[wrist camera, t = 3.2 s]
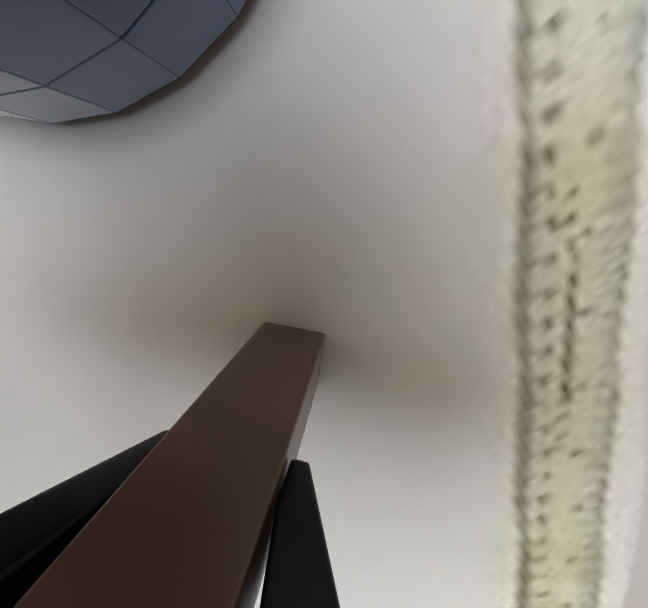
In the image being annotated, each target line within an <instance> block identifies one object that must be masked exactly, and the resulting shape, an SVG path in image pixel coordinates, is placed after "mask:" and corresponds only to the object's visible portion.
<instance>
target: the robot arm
mask: <svg viewBox="0 0 648 608" xmlns="http://www.w3.org/2000/svg"><path fill="white" fill-rule="evenodd" d="M168 431H169V430H166V431H163V432H161V433H159V434H157V435H155V436H153V437H151V438H149V439H147V440H145V441H143V442H141V443H139V444H137V445H135V446H133V447H131V448H129V449H127V450H125V451H123V452H121V453H119V454H117V455H115V456H113V457H111V458H109V459H107V460H105V461H103V462H101V463H99V464H97V465H95V466H93V467H91V468H89V469H88V470H86V471H84V472H82V473H80V474H78V475H76V476H74V477H72V478H70V479H68V480H66V481H64V482H62V483H60V484H58V485H56V486H54V487H52V488H50V489H48V490H46V491H44V492H42V493H40V494H38V495H36V496H34V497H32V498H30V499H28V500H26V501H24V502H22V503H20V504H18V505H16V506H14V507H12V508H10V509H8V510H7V511H5V512H3V513H1V514H0V608H13V607H14V606H15V605H16V603H17V602H18V601H19V600H20V599H21V598H22V597H23V596H24V594H25V593H26V592H27V591H28V590H29V589H30V588H31V586H32V585H33V584H34V583H35V582H36V581H37V580H38V579H39V577H40V576H41V575H42V574H43V573H44V572H45V571H46V569H47V568H48V567H49V566H50V565H51V564H52V563H53V561H54V560H55V559H56V558H57V557H58V556H59V555H60V554H61V552H62V551H63V550H64V549H65V548H66V547H67V546H68V544H69V543H70V542H71V541H72V540H73V539H74V538H75V537H76V535H77V534H78V533H79V532H80V531H81V530H82V529H83V527H84V526H85V525H86V524H87V523H88V522H89V521H90V520H91V518H92V517H93V516H94V515H95V514H96V513H97V512H98V510H99V509H100V508H101V507H102V506H103V505H104V504H105V503H106V501H107V500H108V499H109V498H110V497H111V496H112V495H113V493H114V492H115V491H116V490H117V489H118V488H119V487H120V486H121V484H122V483H123V482H124V481H125V480H126V479H127V478H128V476H129V475H130V474H131V473H132V472H133V471H134V470H135V469H136V467H137V466H138V465H139V464H140V463H141V462H142V461H143V459H144V458H145V457H146V456H147V455H148V454H149V453H150V452H151V450H152V449H153V448H154V447H155V446H156V445H157V444H158V442H159V441H160V440H161V439H162V438H163V437H164V436H165V435H166V433H167V432H168ZM260 608H340V605H339V601H338V596H337V591H336V587H335V582H334V577H333V573H332V568H331V563H330V559H329V554H328V549H327V545H326V540H325V535H324V531H323V526H322V521H321V517H320V512H319V507H318V503H317V498H316V493H315V489H314V484H313V479H312V474H311V470H310V465H309V463H308V462H305V461H300V460H296V459H293V460H291V462H290V464H289V467H288V470H287V473H286V476H285V479H284V482H283V485H282V488H281V491H280V494H279V497H278V500H277V503H276V507H275V512H274V518H273V524H272V531H271V538H270V544H269V551H268V557H267V564H266V571H265V577H264V584H263V590H262V597H261V604H260Z"/></svg>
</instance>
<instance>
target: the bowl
mask: <svg viewBox="0 0 648 608" xmlns="http://www.w3.org/2000/svg"><path fill="white" fill-rule="evenodd" d="M245 2H246V0H0V115H1V116H7V117H14V118H20V119H26V120H33V121H39V122H45V123H49V122H50V123H57V122H62V121H68V120H74V119H80V118H86V117H91V116H97V115H103V114H109V113H114V112H116V111H120V110H122V109H124V108H125V107H127V106H129V105H131V104H133V103H134V102H136V101H138V100H140V99H142V98H143V97H145V96H147V95H149V94H151V93H152V92H154V91H156V90H158V89H160V88H161V87H163V86H165V85H167V84H169V83H170V82H172V81H174V80H176V79H178V78H179V77H180V76H181V75H182V74H183V73H184V72H185V71H186V70H187V69H188V68H189V67H190V66H191V65H192V64H193V63H194V62H195V61H196V60H197V58H198V57H199V56H200V55H201V54H202V53H203V52H204V51H205V50H206V49H207V48H208V47H209V46H210V45H211V44H212V43H213V42H214V41H215V39H216V38H217V37H218V36H219V35H220V34H221V33H222V32H223V31H224V30H225V29H226V28H227V27H228V26H229V25H230V24H231V23H232V22H233V21H234V19H235V18H236V17H237V16H236V15H239V13H240V11H241V9H242V7H243V5H244V4H245ZM178 76H179V77H178Z"/></svg>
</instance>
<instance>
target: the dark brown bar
mask: <svg viewBox="0 0 648 608" xmlns="http://www.w3.org/2000/svg"><path fill="white" fill-rule="evenodd" d="M324 340H325V334H322V333H317V332H312V331H307V330H302V329H297V328H292V327H287V326H281V325H276V324H271V323H266V322H265V323H263V325H262V326H261V327H260V328H259V329H258V330H257V331H256V333H255V334H254V335H253V336H252V337H251V338H250V339H249V340H248V342H247V343H246V344H245V345H244V346H243V347H242V348H241V350H240V351H239V352H238V353H237V354H236V355H235V356H234V357H233V359H232V360H231V361H230V362H229V363H228V364H227V365H226V367H225V368H224V369H223V370H222V371H221V372H220V373H219V374H218V376H217V377H216V378H215V379H214V380H213V381H212V382H211V384H210V385H209V386H208V387H207V388H206V389H205V390H204V391H203V393H202V394H201V395H200V396H199V397H198V398H197V399H196V401H195V402H194V403H193V404H192V405H191V406H190V407H189V408H188V410H187V411H186V412H185V413H184V414H183V415H182V416H181V418H180V419H179V420H178V421H177V422H176V423H175V424H174V425H173V427H172V428H171V429H170V430H169V431H168V432H167V433H166V435H165V436H164V437H163V438H162V439H161V440H160V441H159V442H158V444H157V445H156V446H155V447H154V448H153V449H152V450H151V452H150V453H149V454H148V455H147V456H146V457H145V458H144V459H143V461H142V462H141V463H140V464H139V465H138V466H137V467H136V469H135V470H134V471H133V472H132V473H131V474H130V475H129V476H128V478H127V479H126V480H125V481H124V482H123V483H122V484H121V486H120V487H119V488H118V489H117V490H116V491H115V492H114V493H113V495H112V496H111V497H110V498H109V499H108V500H107V501H106V503H105V504H104V505H103V506H102V507H101V508H100V509H99V510H98V512H97V513H96V514H95V515H94V516H93V517H92V518H91V520H90V521H89V522H88V523H87V524H86V525H85V526H84V527H83V529H82V530H81V531H80V532H79V533H78V534H77V535H76V537H75V538H74V539H73V540H72V541H71V542H70V543H69V544H68V546H67V547H66V548H65V549H64V550H63V551H62V552H61V554H60V555H59V556H58V557H57V558H56V559H55V560H54V561H53V563H52V564H51V565H50V566H49V567H48V568H47V569H46V571H45V572H44V573H43V574H42V575H41V576H40V577H39V579H38V580H37V581H36V582H35V583H34V584H33V585H32V586H31V588H30V589H29V590H28V591H27V592H26V593H25V594H24V596H23V597H22V598H21V599H20V600H19V601H18V602H17V603H16V605H15V606H14V607H13V608H254V606H255V602H256V599H257V595H258V592H259V588H260V585H261V581H262V578H263V574H264V571H265V567H266V564H267V557H268V551H269V544H270V538H271V531H272V524H273V518H274V512H275V507H276V503H277V500H278V497H279V494H280V491H281V488H282V485H283V482H284V479H285V476H286V473H287V470H288V467H289V464H290V462H291V460H293V459H296V458H297V454H298V451H299V447H300V444H301V440H302V437H303V433H304V430H305V426H306V423H307V419H308V415H309V412H310V408H311V405H312V401H313V398H314V394H315V391H316V387H317V381H318V375H319V370H320V364H321V358H322V352H323V346H324Z"/></svg>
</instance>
